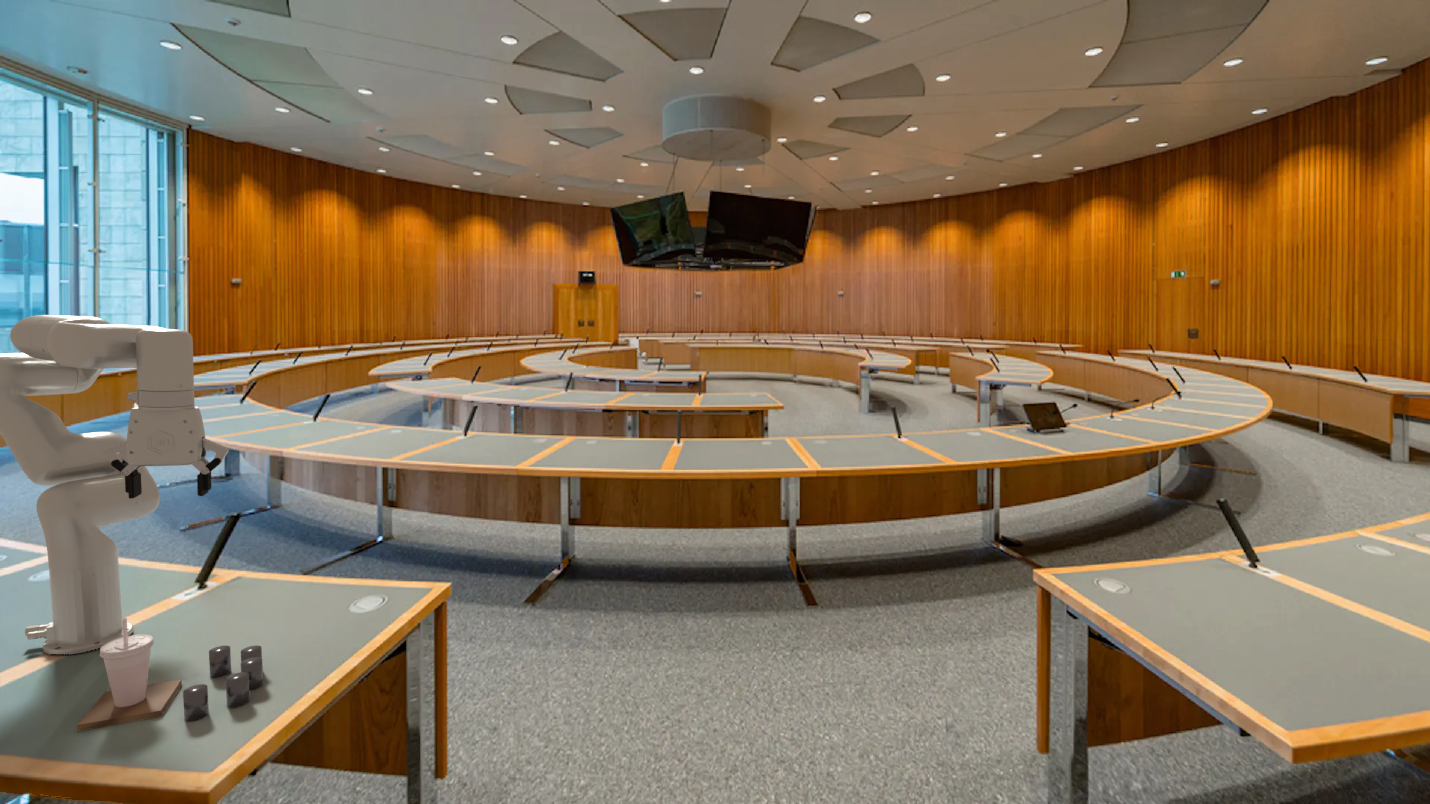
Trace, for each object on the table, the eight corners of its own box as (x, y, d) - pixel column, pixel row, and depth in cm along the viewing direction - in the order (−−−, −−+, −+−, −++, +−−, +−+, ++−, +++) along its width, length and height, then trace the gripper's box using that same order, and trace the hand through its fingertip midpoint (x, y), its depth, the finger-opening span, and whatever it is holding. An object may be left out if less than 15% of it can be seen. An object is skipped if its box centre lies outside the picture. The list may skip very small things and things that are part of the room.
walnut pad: (77, 731, 97) (76, 725, 97) (105, 697, 106) (105, 691, 106) (161, 716, 101) (160, 710, 101) (181, 685, 110) (181, 679, 110)
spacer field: (181, 723, 99) (180, 696, 99) (212, 671, 115) (211, 647, 114) (251, 711, 103) (250, 684, 103) (272, 662, 119) (271, 638, 118)
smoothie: (96, 716, 99) (90, 629, 98) (111, 695, 105) (106, 613, 103) (150, 706, 102) (145, 621, 101) (161, 686, 108) (157, 606, 106)
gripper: (91, 401, 105) (96, 503, 107) (219, 403, 112) (222, 498, 114) (113, 396, 112) (117, 492, 114) (233, 398, 119) (235, 488, 120)
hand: (169, 495), depth 114 cm, fingers open, 9 cm apart
